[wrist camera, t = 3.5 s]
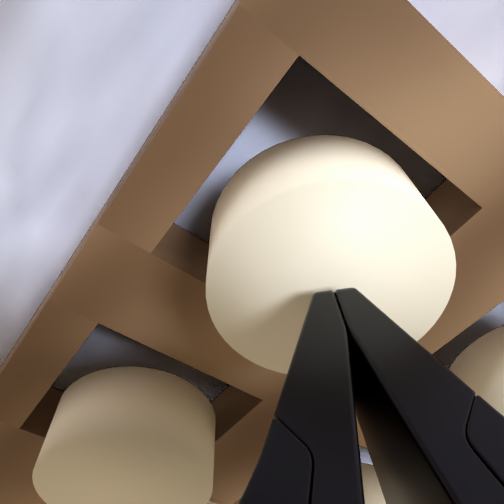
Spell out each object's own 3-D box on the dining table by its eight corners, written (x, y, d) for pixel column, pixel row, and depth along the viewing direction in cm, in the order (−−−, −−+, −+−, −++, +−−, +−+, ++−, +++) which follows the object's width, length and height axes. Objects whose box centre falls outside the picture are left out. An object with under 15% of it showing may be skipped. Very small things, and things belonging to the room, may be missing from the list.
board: (692, 295, 16) (759, 348, 14) (268, 559, 26) (270, 612, 24) (295, -92, 10) (311, -102, 8) (-58, 457, 20) (-92, 517, 18)
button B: (462, 215, 11) (508, 270, 9) (322, 339, 14) (336, 404, 12) (302, 86, 9) (319, 122, 8) (171, 254, 12) (158, 315, 10)
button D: (246, 406, 15) (247, 473, 13) (165, 479, 17) (156, 544, 16) (102, 342, 13) (80, 408, 11) (33, 431, 16) (4, 499, 14)
